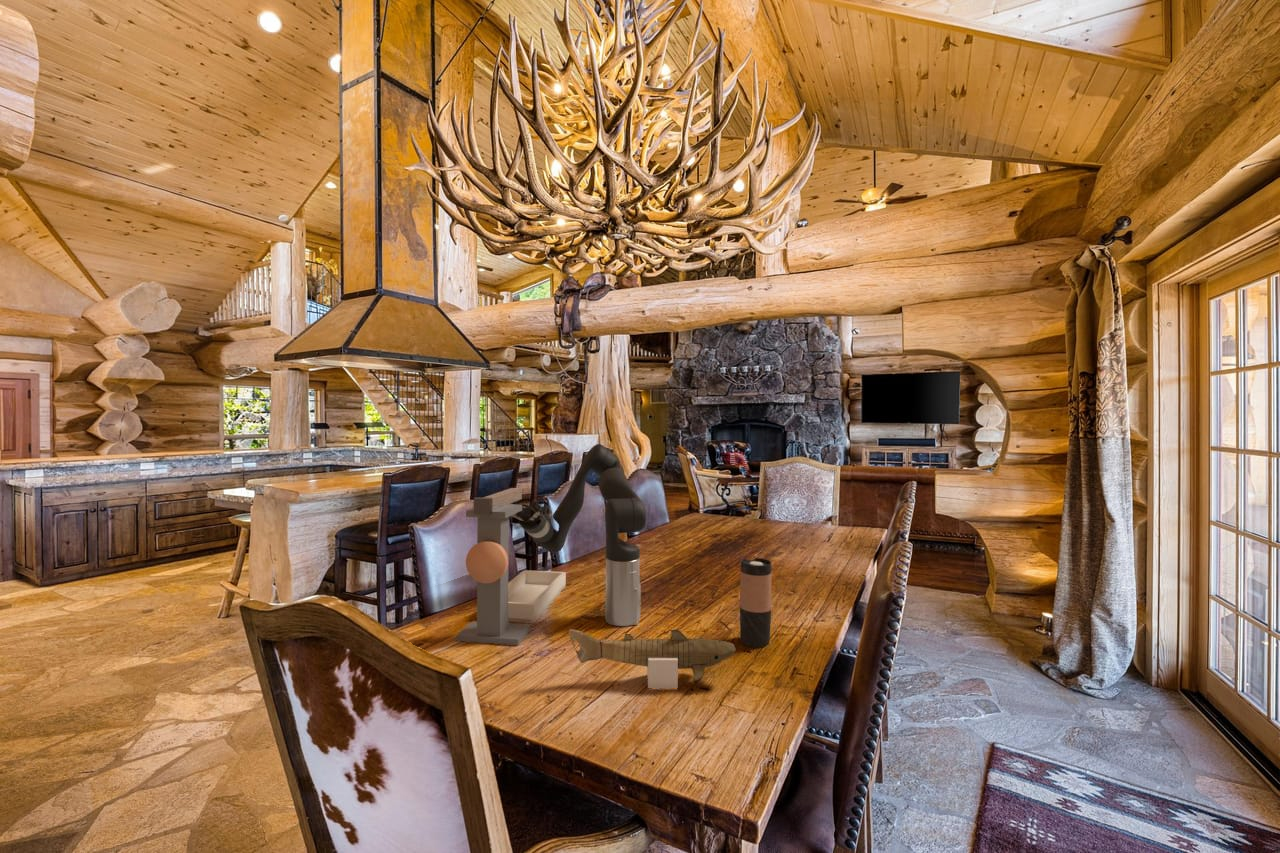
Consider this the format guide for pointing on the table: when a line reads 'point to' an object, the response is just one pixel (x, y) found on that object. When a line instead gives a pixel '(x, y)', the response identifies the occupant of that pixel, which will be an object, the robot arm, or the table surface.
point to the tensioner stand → (492, 580)
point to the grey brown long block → (496, 501)
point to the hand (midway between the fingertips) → (517, 502)
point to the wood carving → (656, 654)
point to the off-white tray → (533, 594)
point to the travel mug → (755, 602)
